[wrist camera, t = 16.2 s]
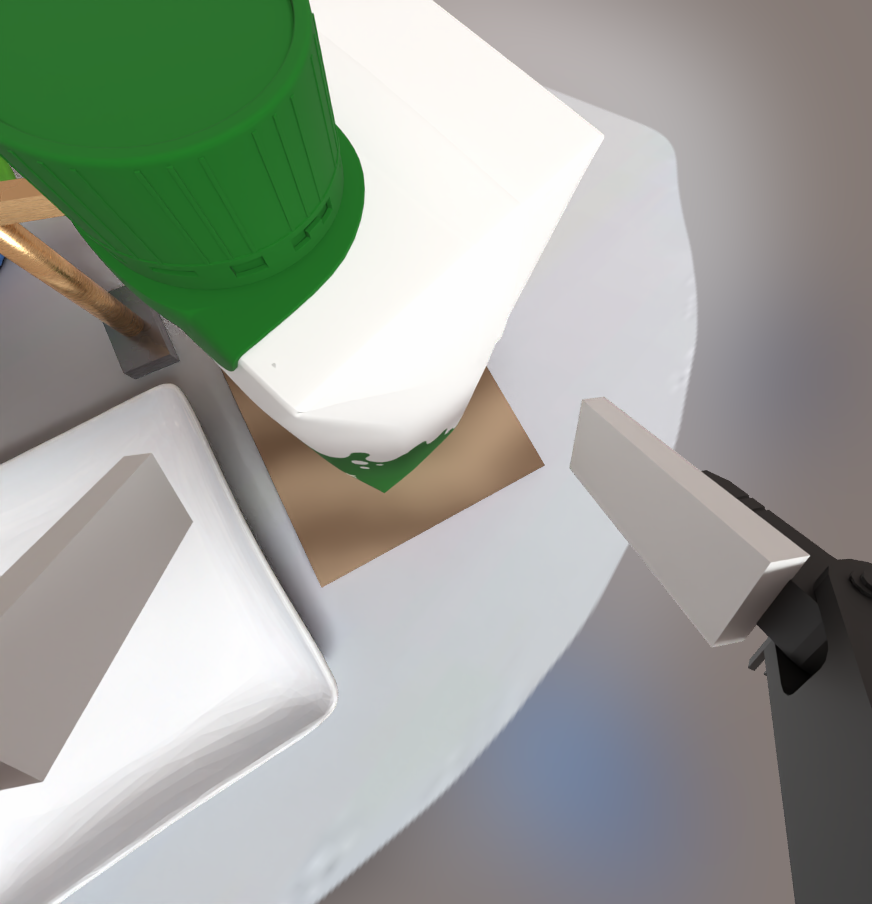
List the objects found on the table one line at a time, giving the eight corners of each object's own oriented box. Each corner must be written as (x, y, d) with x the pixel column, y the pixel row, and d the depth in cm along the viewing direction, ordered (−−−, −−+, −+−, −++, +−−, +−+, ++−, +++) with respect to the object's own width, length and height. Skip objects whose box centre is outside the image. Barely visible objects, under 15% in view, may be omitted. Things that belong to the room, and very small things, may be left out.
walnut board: (226, 370, 25) (218, 363, 24) (431, 282, 27) (431, 273, 26) (325, 585, 22) (321, 587, 21) (539, 467, 25) (544, 465, 24)
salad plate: (-10, 933, 18) (-104, 1024, 15) (-140, 565, 21) (-242, 573, 18) (357, 680, 22) (348, 708, 18) (204, 394, 25) (172, 373, 21)
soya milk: (287, 420, 23) (-342, -122, 4) (386, 331, 25) (303, -355, 6) (385, 514, 23) (223, 441, 3) (479, 415, 24) (764, -36, 5)
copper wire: (105, 306, 25) (-107, 154, 15) (377, 203, 28) (359, 20, 18) (135, 379, 24) (-67, 271, 14) (413, 263, 27) (414, 107, 17)
